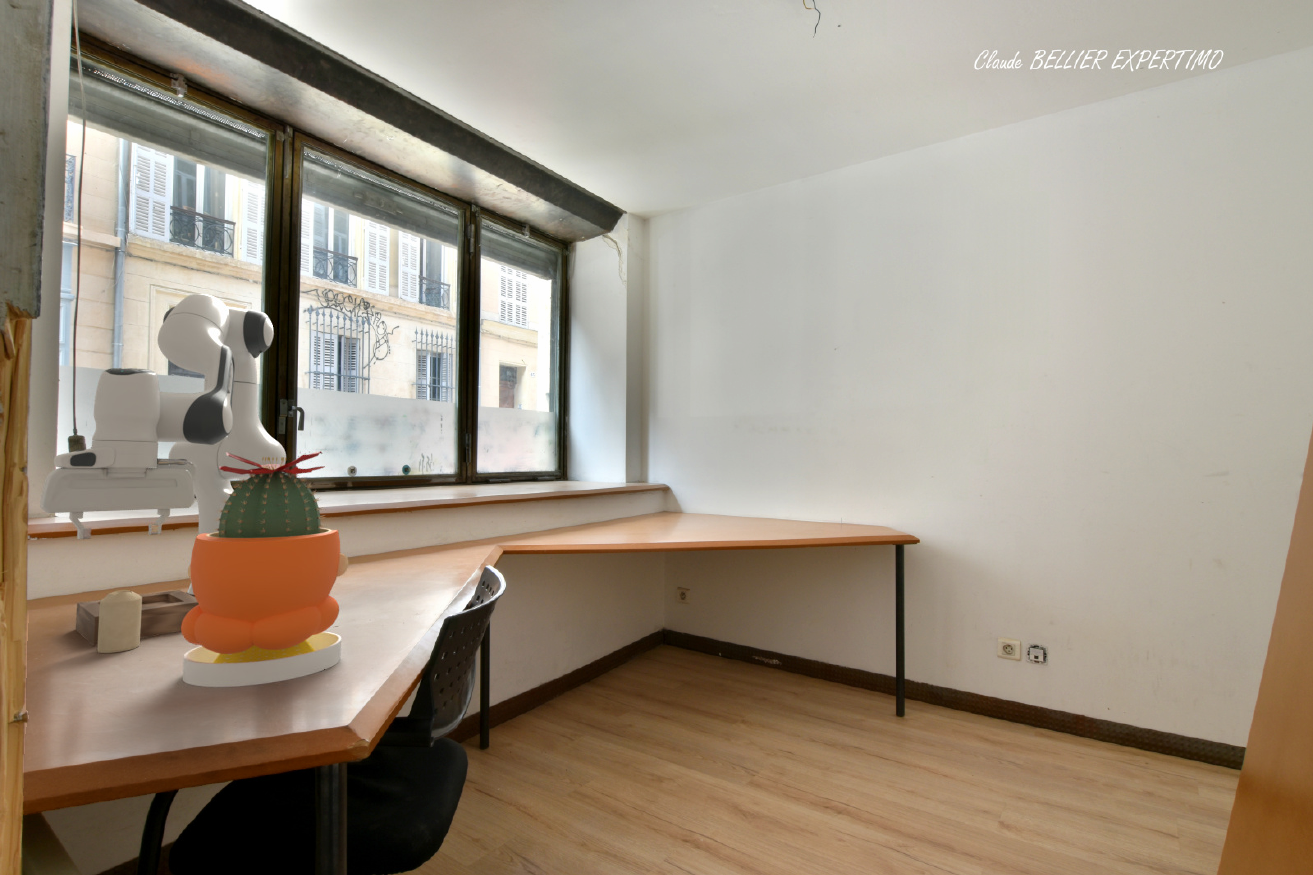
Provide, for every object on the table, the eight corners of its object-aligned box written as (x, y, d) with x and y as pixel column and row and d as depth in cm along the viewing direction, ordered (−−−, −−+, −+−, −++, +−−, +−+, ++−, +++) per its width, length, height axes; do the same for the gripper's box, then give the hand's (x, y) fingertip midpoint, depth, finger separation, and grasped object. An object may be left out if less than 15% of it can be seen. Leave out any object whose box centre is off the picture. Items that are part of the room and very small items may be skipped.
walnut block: (178, 615, 128) (179, 589, 128) (202, 629, 118) (204, 601, 119) (75, 631, 115) (77, 602, 116) (93, 648, 106) (95, 616, 106)
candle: (141, 648, 104) (144, 591, 105) (98, 655, 100) (102, 595, 101) (137, 642, 108) (140, 586, 109) (95, 648, 104) (99, 590, 105)
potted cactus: (199, 658, 100) (209, 449, 101) (348, 644, 109) (356, 452, 110) (150, 707, 80) (163, 447, 82) (337, 685, 89) (346, 450, 90)
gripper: (191, 459, 116) (187, 530, 115) (41, 456, 100) (35, 539, 99) (202, 459, 112) (198, 533, 111) (47, 456, 96) (42, 543, 95)
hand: (120, 536), depth 105 cm, fingers open, 8 cm apart
